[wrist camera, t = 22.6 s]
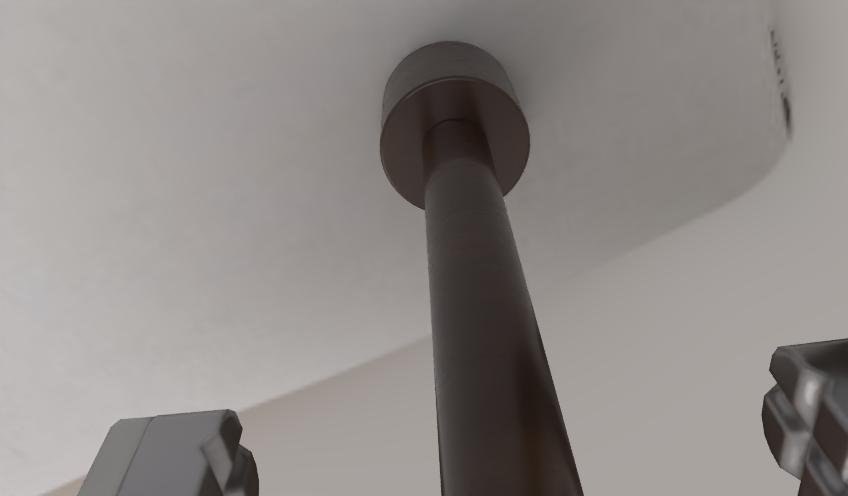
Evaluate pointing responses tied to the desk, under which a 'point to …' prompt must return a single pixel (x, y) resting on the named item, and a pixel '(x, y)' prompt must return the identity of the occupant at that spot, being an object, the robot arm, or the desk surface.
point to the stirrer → (476, 273)
